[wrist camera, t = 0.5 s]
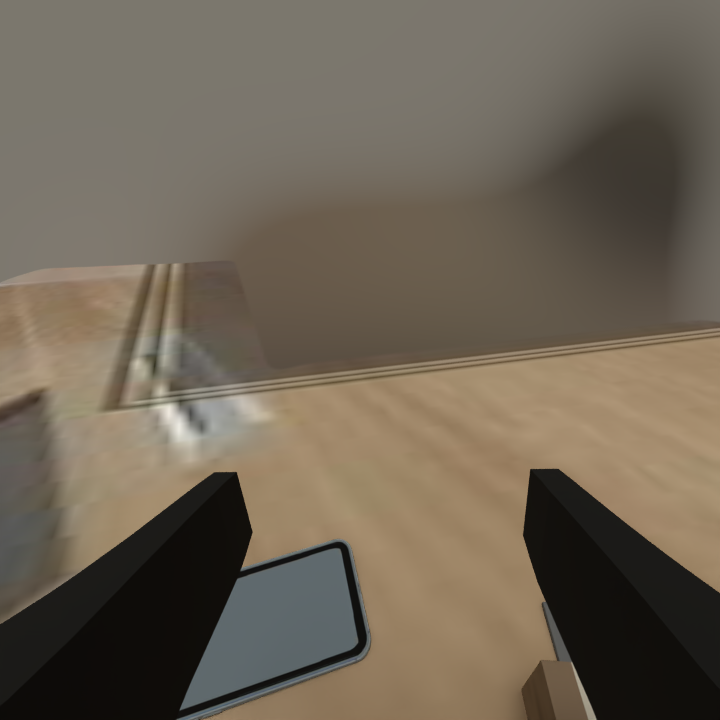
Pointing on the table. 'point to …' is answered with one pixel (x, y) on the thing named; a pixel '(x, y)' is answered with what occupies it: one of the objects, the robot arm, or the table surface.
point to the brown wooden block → (556, 693)
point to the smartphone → (282, 629)
